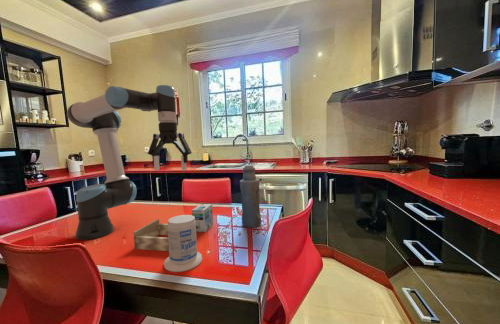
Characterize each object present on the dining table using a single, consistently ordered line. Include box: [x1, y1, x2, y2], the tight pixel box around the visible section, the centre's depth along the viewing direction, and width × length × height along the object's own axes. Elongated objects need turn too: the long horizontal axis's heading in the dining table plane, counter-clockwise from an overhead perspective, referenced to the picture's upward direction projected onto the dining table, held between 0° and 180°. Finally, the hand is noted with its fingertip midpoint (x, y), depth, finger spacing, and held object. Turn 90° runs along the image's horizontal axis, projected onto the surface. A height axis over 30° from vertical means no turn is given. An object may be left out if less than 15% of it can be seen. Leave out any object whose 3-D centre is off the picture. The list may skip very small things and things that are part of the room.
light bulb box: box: [191, 203, 214, 233], centre depth 110 cm, size 11×7×11 cm, turn 168°
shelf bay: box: [132, 218, 169, 252], centre depth 96 cm, size 18×15×7 cm
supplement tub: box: [167, 214, 198, 265], centre depth 79 cm, size 10×10×15 cm
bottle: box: [239, 164, 262, 228], centre depth 111 cm, size 10×10×30 cm
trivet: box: [163, 251, 203, 273], centre depth 79 cm, size 13×13×1 cm
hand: (170, 170), depth 99 cm, fingers open, 13 cm apart
